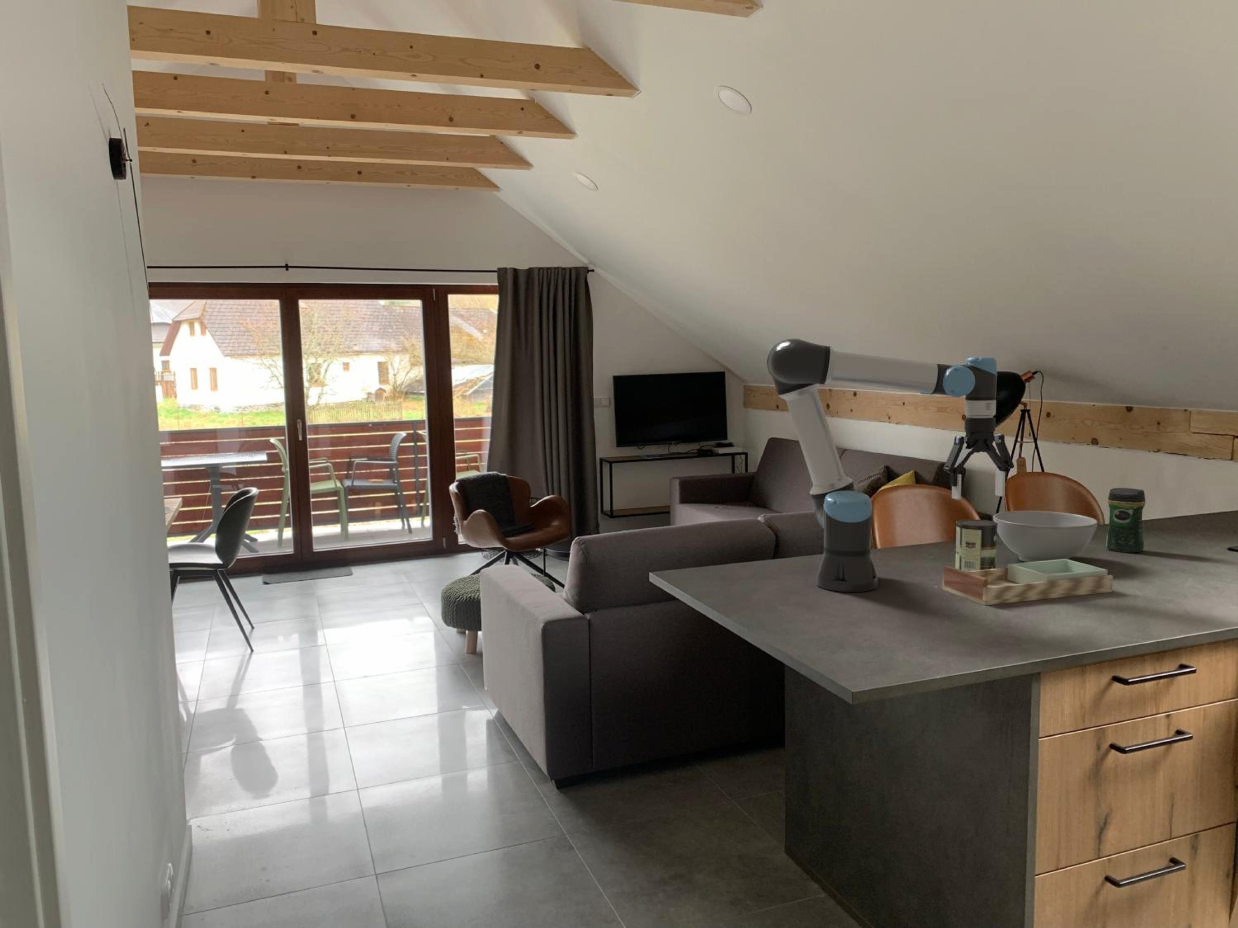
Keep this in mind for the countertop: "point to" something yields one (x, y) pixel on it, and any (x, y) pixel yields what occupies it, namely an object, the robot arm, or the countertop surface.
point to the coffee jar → (1125, 520)
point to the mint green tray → (1051, 571)
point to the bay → (1016, 586)
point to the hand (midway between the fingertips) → (978, 497)
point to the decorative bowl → (1044, 534)
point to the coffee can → (976, 544)
